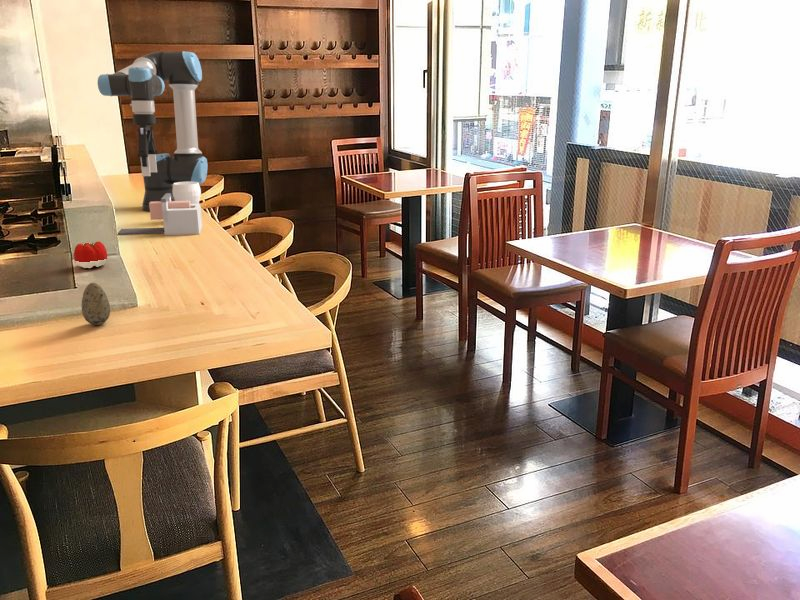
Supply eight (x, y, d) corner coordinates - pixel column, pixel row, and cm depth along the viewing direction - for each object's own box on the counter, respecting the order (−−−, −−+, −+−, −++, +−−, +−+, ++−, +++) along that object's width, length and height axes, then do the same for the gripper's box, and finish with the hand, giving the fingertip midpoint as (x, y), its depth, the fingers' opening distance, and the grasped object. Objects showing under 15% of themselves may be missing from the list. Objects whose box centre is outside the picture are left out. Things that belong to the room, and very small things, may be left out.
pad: (121, 230, 253) (121, 228, 252) (166, 228, 255) (166, 227, 255) (117, 235, 245) (117, 233, 245) (163, 233, 248) (163, 231, 248)
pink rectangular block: (152, 217, 250) (150, 201, 248) (191, 216, 253) (190, 200, 251) (150, 219, 247) (149, 203, 245) (190, 218, 249) (189, 202, 247)
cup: (207, 218, 274) (204, 181, 270) (197, 224, 264) (193, 185, 259) (182, 218, 275) (178, 181, 271) (171, 223, 265) (167, 185, 260)
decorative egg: (84, 330, 152) (77, 288, 149) (84, 322, 158) (78, 281, 155) (112, 326, 155) (106, 285, 152) (111, 318, 160) (106, 278, 157)
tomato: (69, 269, 201) (66, 244, 199) (92, 262, 209) (88, 238, 207) (94, 272, 198) (91, 247, 196) (116, 265, 206) (113, 241, 204)
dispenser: (169, 227, 257) (166, 193, 253) (202, 226, 259) (199, 192, 255) (164, 235, 245) (160, 199, 241) (199, 234, 247) (195, 198, 243)
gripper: (139, 112, 250) (145, 170, 256) (125, 113, 227) (131, 177, 232) (160, 112, 251) (166, 170, 257) (148, 113, 228) (154, 177, 234)
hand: (149, 174), depth 245 cm, fingers open, 13 cm apart
